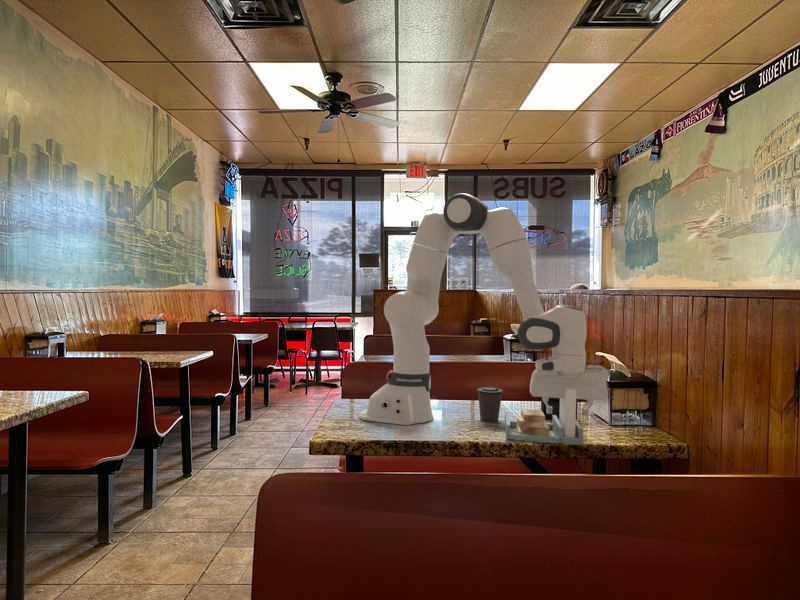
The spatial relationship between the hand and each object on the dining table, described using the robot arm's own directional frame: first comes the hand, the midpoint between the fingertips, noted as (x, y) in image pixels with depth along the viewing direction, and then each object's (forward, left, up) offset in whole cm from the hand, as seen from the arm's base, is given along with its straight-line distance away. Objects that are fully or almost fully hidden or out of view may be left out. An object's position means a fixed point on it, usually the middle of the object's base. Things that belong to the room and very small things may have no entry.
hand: (567, 414), depth 140 cm
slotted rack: (-7, 0, -6) cm, 9 cm away
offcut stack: (-9, 0, -6) cm, 11 cm away
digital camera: (+1, +21, -6) cm, 22 cm away
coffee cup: (-21, +13, -6) cm, 26 cm away
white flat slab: (0, 0, -6) cm, 6 cm away
